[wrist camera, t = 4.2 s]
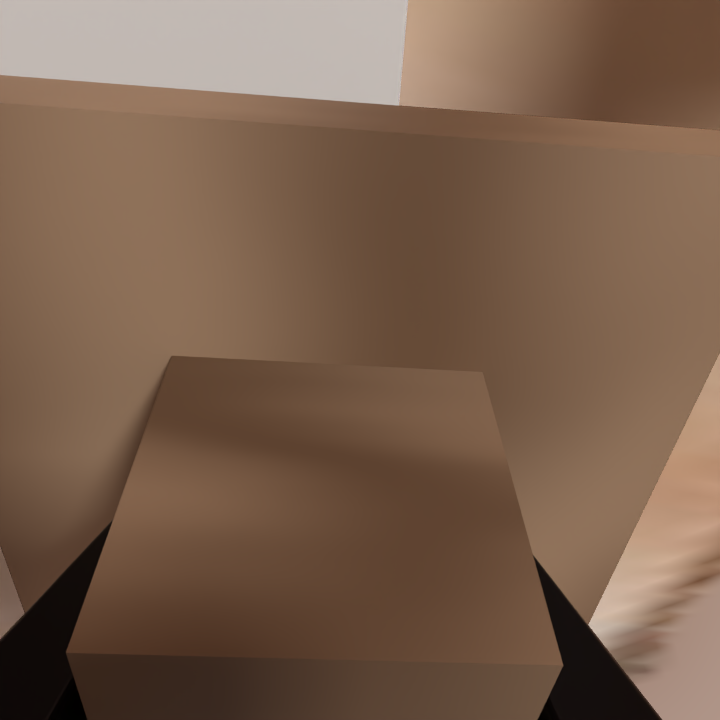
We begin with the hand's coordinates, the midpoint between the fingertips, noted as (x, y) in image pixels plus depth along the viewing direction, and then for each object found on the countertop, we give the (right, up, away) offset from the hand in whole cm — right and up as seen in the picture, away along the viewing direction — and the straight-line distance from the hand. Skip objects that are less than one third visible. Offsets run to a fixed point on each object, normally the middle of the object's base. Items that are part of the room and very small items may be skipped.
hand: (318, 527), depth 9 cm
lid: (0, +1, +2) cm, 2 cm away
